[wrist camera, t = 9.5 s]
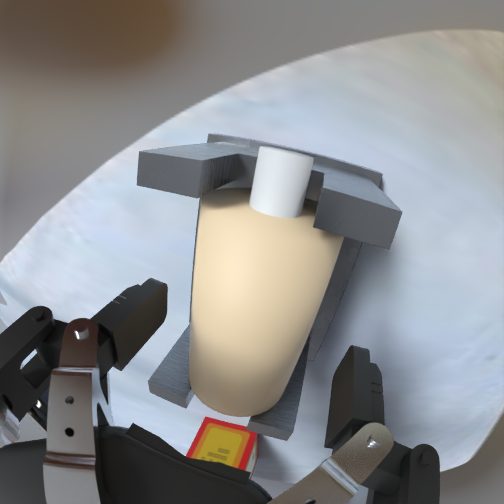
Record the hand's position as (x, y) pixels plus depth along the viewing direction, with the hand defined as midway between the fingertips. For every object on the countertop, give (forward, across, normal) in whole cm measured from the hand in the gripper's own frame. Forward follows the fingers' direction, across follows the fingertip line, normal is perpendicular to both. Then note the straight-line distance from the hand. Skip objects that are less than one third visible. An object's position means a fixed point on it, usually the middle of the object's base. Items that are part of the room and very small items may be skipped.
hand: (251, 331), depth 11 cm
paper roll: (+4, +1, 0) cm, 5 cm away
